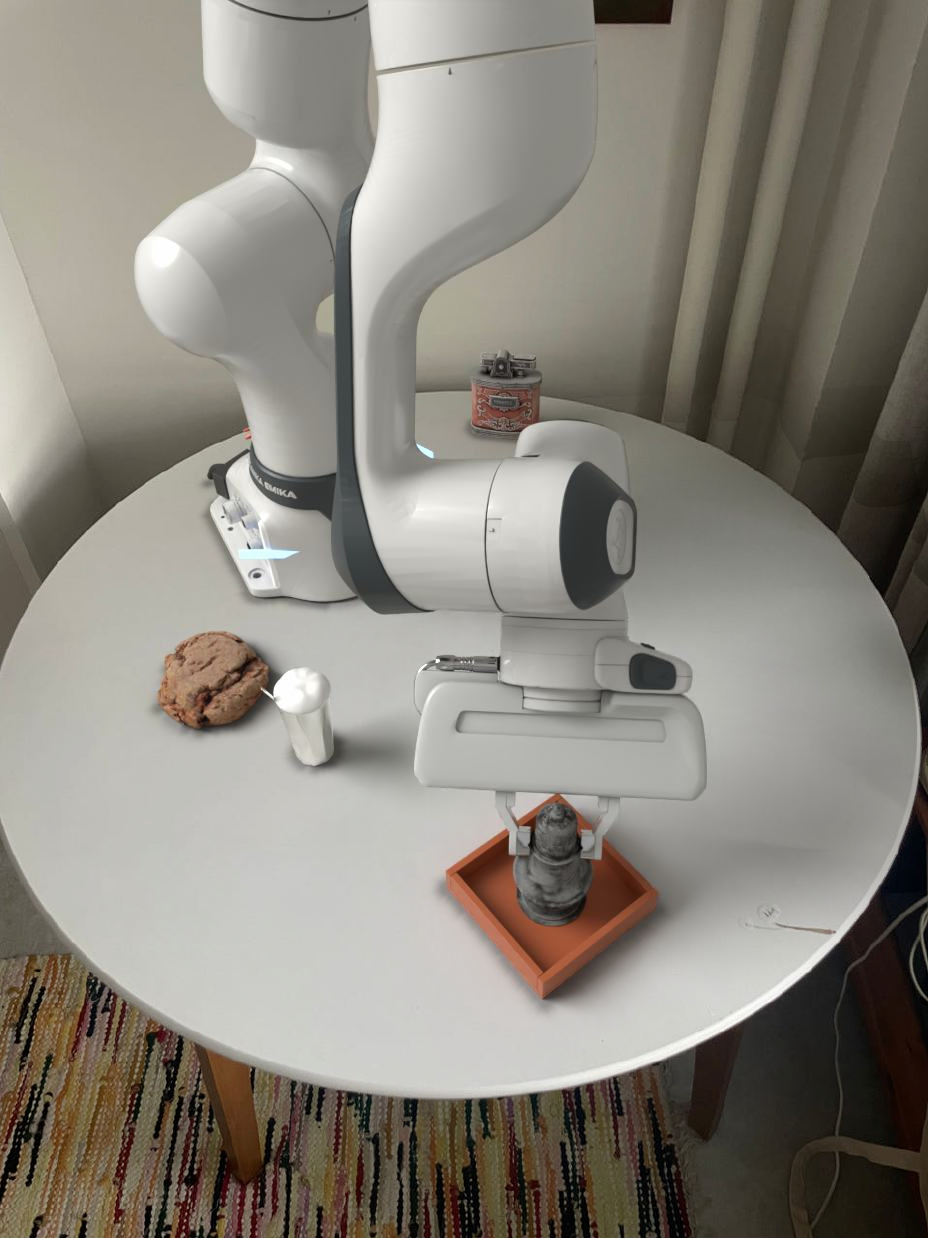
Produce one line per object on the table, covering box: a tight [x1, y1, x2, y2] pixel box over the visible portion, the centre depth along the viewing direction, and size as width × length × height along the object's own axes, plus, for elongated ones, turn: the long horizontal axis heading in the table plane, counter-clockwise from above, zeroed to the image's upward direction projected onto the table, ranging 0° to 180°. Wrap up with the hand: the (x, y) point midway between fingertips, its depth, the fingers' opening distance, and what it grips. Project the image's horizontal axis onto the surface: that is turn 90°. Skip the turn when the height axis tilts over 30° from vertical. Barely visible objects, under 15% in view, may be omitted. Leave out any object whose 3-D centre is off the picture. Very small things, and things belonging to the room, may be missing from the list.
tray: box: [445, 794, 660, 1000], centre depth 77 cm, size 11×11×2 cm
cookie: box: [157, 630, 270, 730], centre depth 92 cm, size 10×11×3 cm
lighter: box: [469, 349, 543, 440], centre depth 115 cm, size 8×3×10 cm, turn 80°
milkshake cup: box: [260, 667, 335, 767], centre depth 84 cm, size 4×5×10 cm
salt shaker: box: [513, 803, 593, 927], centre depth 73 cm, size 6×6×12 cm
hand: (555, 856), depth 72 cm, fingers closed on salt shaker, 3 cm apart
